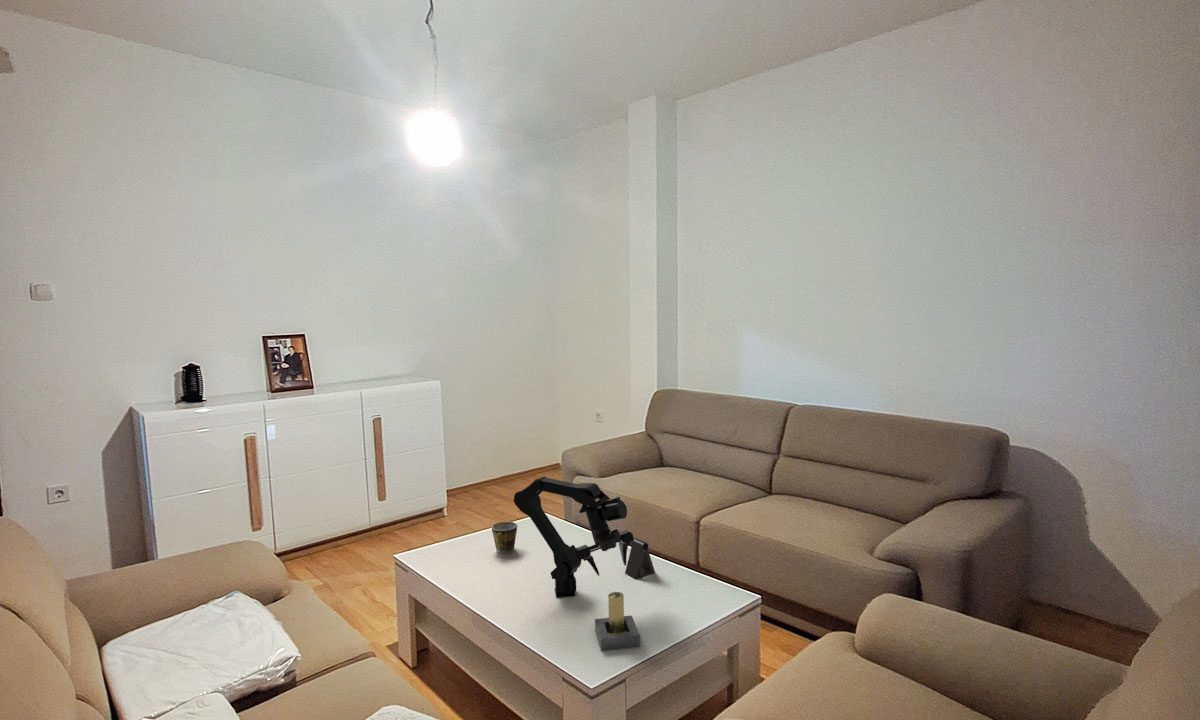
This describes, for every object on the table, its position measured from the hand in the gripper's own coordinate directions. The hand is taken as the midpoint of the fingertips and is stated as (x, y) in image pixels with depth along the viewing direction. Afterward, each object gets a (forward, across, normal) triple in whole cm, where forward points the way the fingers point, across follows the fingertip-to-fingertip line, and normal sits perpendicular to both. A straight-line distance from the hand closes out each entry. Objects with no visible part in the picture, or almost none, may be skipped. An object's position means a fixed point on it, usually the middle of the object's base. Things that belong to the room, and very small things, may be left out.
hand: (612, 570), depth 199 cm
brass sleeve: (+14, -7, -17) cm, 23 cm away
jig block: (+14, -7, -17) cm, 23 cm away
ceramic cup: (-7, -30, +53) cm, 61 cm away
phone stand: (+10, +13, +22) cm, 27 cm away
